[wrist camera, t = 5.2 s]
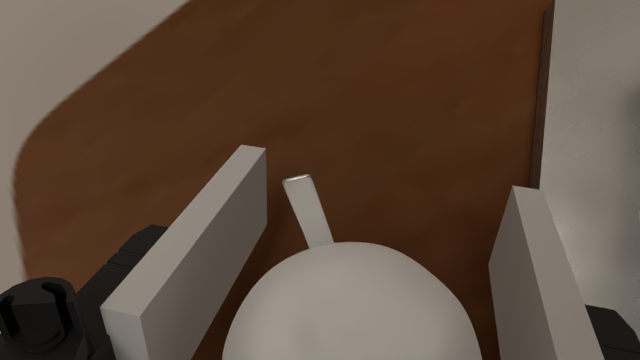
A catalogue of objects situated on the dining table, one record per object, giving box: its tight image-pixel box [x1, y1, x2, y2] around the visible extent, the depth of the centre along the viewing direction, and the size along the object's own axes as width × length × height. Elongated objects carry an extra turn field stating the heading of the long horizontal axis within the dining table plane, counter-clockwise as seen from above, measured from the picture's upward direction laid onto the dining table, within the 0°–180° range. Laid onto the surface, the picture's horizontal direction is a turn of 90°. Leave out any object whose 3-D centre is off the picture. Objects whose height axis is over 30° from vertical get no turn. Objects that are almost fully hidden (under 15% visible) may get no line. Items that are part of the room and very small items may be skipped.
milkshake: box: [222, 174, 482, 360], centre depth 11 cm, size 5×5×10 cm
